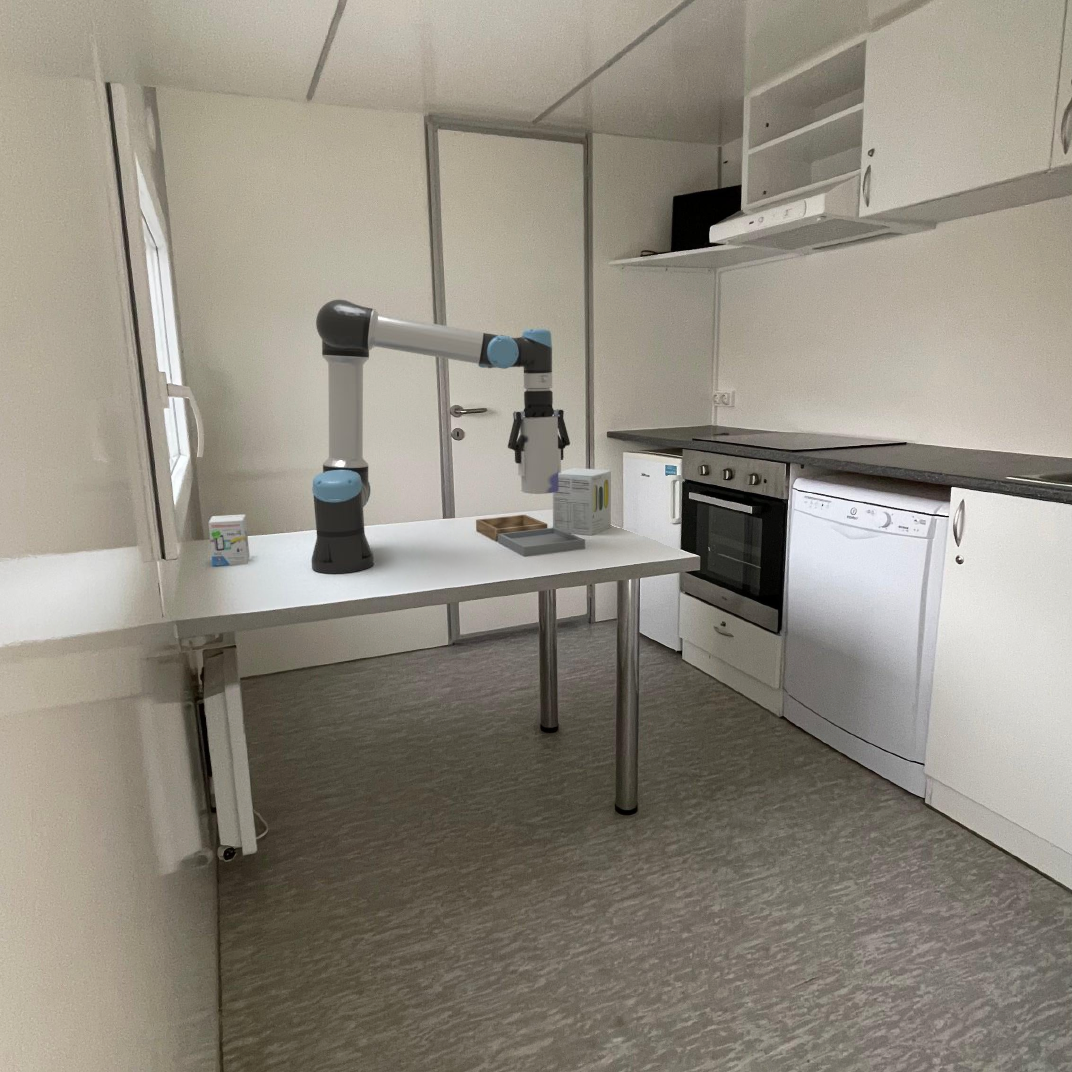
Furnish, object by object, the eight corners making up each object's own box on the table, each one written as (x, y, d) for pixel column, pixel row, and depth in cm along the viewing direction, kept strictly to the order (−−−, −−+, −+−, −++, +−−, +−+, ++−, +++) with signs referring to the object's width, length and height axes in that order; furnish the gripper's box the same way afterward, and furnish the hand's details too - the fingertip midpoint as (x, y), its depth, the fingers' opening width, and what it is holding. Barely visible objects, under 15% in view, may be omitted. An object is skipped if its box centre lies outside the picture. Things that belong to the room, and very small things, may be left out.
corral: (496, 541, 219) (496, 529, 218) (476, 531, 233) (475, 519, 232) (547, 535, 225) (547, 523, 225) (525, 525, 239) (524, 514, 239)
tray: (523, 556, 202) (523, 547, 201) (497, 542, 218) (497, 533, 217) (585, 548, 209) (584, 539, 209) (555, 535, 225) (555, 527, 225)
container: (517, 489, 213) (515, 416, 209) (551, 487, 216) (550, 414, 212) (527, 495, 204) (526, 418, 200) (563, 492, 207) (562, 417, 203)
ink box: (212, 566, 197) (206, 521, 194) (216, 558, 205) (211, 515, 202) (247, 564, 199) (243, 519, 197) (250, 556, 207) (246, 513, 205)
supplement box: (591, 536, 224) (591, 475, 220) (552, 531, 231) (551, 473, 227) (611, 527, 235) (612, 470, 232) (573, 523, 242) (573, 467, 238)
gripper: (504, 391, 196) (506, 479, 201) (582, 388, 206) (583, 472, 210) (493, 390, 203) (495, 475, 208) (569, 388, 212) (570, 469, 217)
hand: (539, 473), depth 209 cm, fingers closed on container, 10 cm apart
